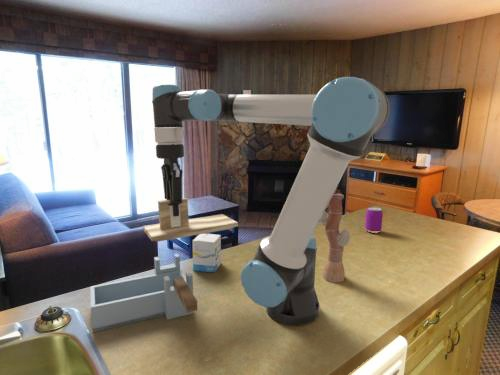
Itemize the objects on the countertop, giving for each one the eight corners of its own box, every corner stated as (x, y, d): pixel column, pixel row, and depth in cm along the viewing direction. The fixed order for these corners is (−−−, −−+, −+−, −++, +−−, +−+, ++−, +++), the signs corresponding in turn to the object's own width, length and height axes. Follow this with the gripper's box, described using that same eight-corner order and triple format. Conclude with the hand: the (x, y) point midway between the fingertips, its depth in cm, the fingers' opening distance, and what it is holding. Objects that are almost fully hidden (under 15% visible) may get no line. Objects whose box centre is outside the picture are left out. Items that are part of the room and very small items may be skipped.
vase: (350, 279, 114) (356, 194, 108) (336, 285, 109) (342, 197, 104) (326, 268, 122) (330, 189, 116) (312, 273, 118) (316, 192, 112)
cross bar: (197, 310, 79) (197, 300, 79) (187, 312, 78) (186, 303, 78) (182, 284, 92) (182, 276, 91) (173, 286, 90) (173, 278, 90)
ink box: (214, 273, 118) (214, 242, 116) (192, 270, 119) (191, 240, 117) (221, 263, 126) (221, 234, 124) (200, 261, 128) (199, 232, 125)
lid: (238, 228, 99) (237, 196, 97) (152, 244, 87) (149, 207, 85) (222, 219, 109) (221, 190, 107) (143, 232, 97) (141, 199, 95)
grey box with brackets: (194, 313, 93) (193, 275, 91) (93, 338, 82) (89, 295, 80) (179, 286, 108) (178, 253, 106) (92, 304, 97) (89, 268, 94)
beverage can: (382, 231, 165) (384, 208, 163) (379, 235, 159) (381, 211, 156) (366, 228, 169) (368, 205, 167) (363, 232, 163) (365, 209, 160)
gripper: (191, 143, 86) (195, 230, 90) (175, 142, 99) (179, 217, 103) (162, 145, 82) (168, 234, 87) (150, 143, 95) (155, 221, 100)
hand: (174, 225), depth 95 cm, fingers closed on lid, 2 cm apart
